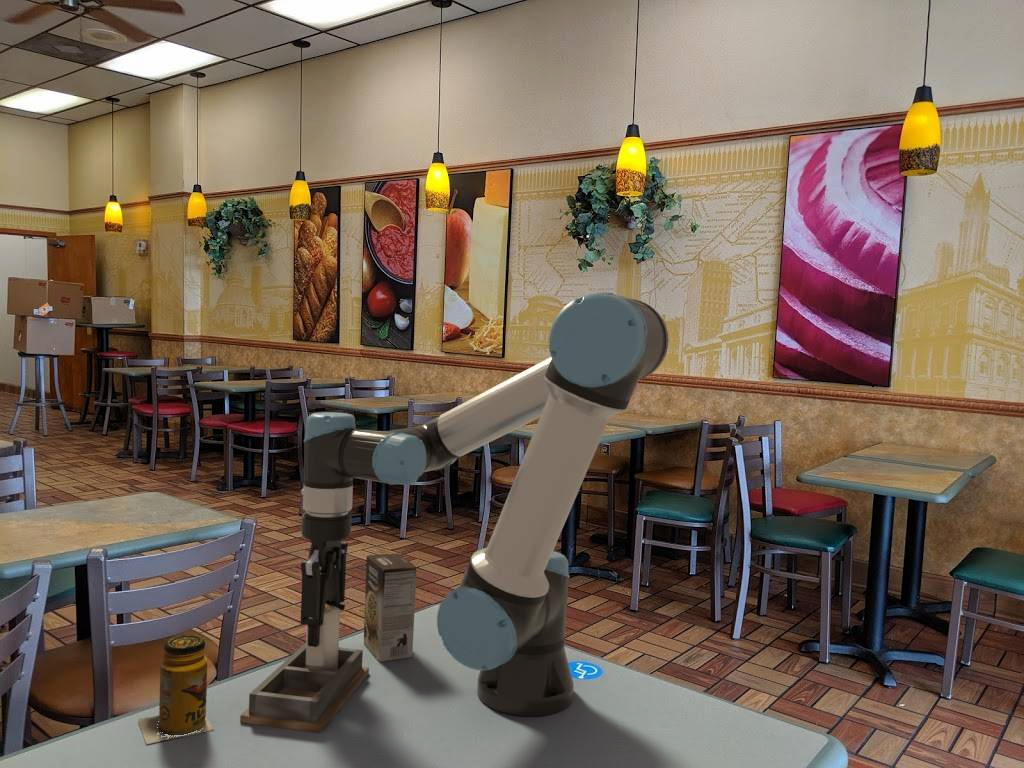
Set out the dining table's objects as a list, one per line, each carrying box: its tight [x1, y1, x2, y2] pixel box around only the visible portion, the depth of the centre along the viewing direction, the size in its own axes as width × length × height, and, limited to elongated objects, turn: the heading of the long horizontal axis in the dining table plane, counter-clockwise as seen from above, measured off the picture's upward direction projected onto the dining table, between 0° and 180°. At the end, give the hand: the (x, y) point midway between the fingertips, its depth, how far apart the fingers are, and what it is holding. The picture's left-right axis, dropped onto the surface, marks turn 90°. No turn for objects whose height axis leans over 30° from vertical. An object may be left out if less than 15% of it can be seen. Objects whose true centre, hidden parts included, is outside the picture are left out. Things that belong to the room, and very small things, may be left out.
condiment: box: [137, 634, 214, 745], centre depth 108 cm, size 7×8×12 cm
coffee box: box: [363, 552, 418, 663], centre depth 138 cm, size 9×6×16 cm
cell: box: [305, 604, 341, 672], centre depth 124 cm, size 5×5×11 cm
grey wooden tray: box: [239, 643, 370, 734], centre depth 119 cm, size 12×20×4 cm, turn 171°
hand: (321, 657), depth 124 cm, fingers closed on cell, 5 cm apart
